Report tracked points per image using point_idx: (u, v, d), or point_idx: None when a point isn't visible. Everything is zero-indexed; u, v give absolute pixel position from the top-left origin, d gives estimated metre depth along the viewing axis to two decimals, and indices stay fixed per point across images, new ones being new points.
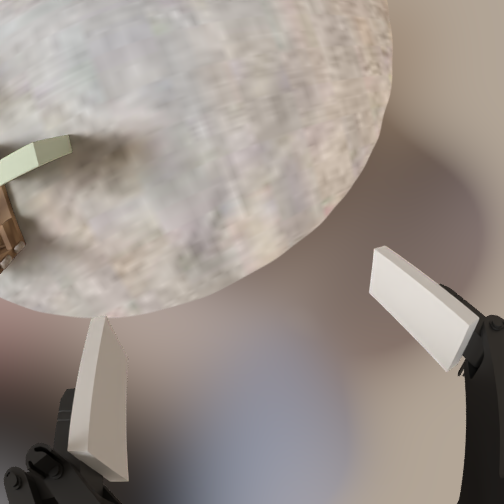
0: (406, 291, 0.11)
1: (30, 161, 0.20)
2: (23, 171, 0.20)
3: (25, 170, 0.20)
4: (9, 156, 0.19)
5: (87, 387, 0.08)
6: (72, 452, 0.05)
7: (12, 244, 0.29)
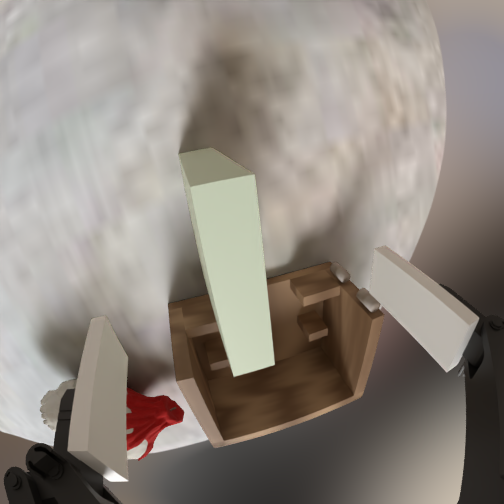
0: (406, 291, 0.11)
1: (237, 197, 0.11)
2: (256, 222, 0.12)
3: (255, 216, 0.12)
4: (209, 261, 0.12)
5: (87, 387, 0.08)
6: (72, 452, 0.05)
7: (333, 284, 0.25)
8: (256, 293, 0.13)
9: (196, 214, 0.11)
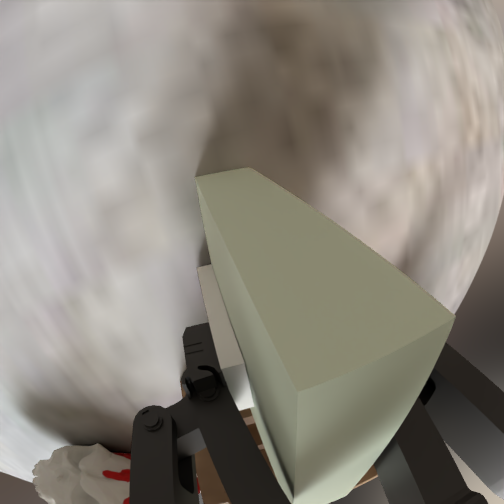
0: None
1: (404, 375, 0.03)
2: (412, 398, 0.04)
3: (416, 390, 0.04)
4: (304, 470, 0.04)
5: (221, 315, 0.10)
6: (225, 370, 0.08)
7: None
8: (361, 466, 0.06)
9: (298, 431, 0.03)
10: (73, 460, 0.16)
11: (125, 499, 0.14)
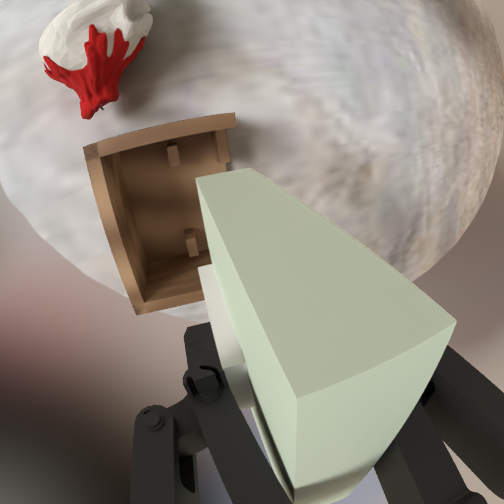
0: None
1: (404, 380, 0.03)
2: (412, 402, 0.04)
3: (417, 394, 0.04)
4: (303, 473, 0.04)
5: (222, 315, 0.10)
6: (226, 369, 0.08)
7: None
8: (361, 468, 0.06)
9: (298, 436, 0.03)
10: None
11: (129, 44, 0.18)
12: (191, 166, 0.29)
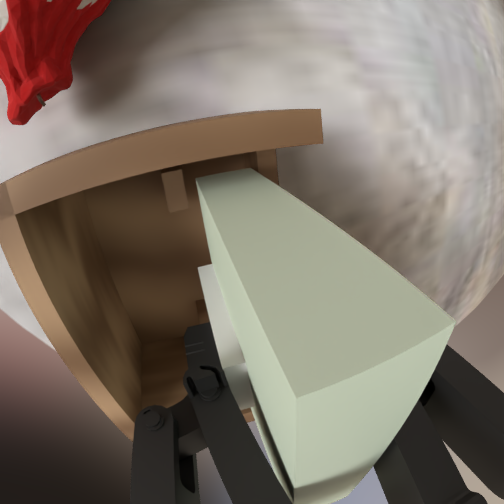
0: None
1: (403, 380, 0.03)
2: (412, 402, 0.04)
3: (416, 394, 0.04)
4: (303, 473, 0.04)
5: (222, 315, 0.10)
6: (226, 369, 0.08)
7: None
8: (361, 468, 0.06)
9: (297, 435, 0.03)
10: None
11: None
12: None
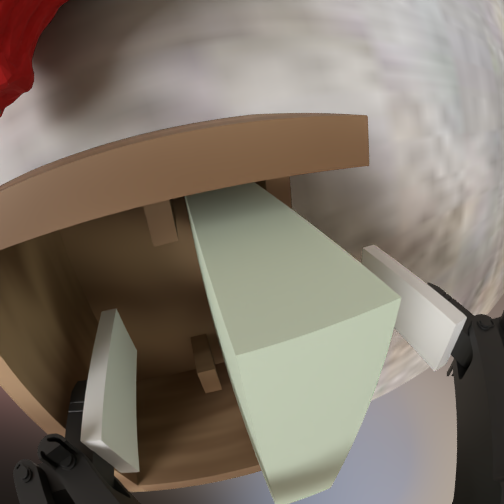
0: (394, 290, 0.12)
1: (352, 353, 0.04)
2: (371, 381, 0.05)
3: (374, 373, 0.05)
4: (269, 449, 0.05)
5: (99, 377, 0.08)
6: (85, 442, 0.06)
7: None
8: (335, 453, 0.06)
9: (249, 401, 0.04)
10: None
11: None
12: None
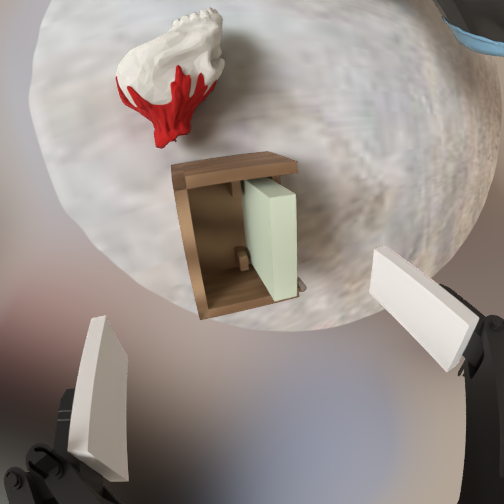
0: (407, 291, 0.11)
1: (287, 203, 0.25)
2: (294, 215, 0.26)
3: (294, 212, 0.26)
4: (273, 232, 0.26)
5: (87, 387, 0.08)
6: (72, 452, 0.05)
7: None
8: (291, 250, 0.28)
9: (270, 210, 0.25)
10: None
11: (207, 88, 0.24)
12: None
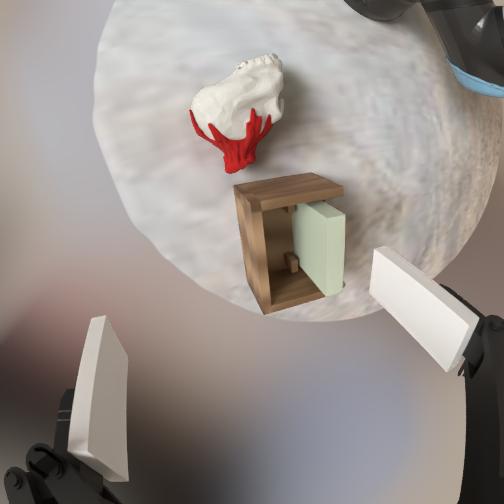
0: (407, 291, 0.11)
1: (339, 222, 0.32)
2: (343, 230, 0.33)
3: (343, 228, 0.33)
4: (328, 243, 0.33)
5: (87, 387, 0.08)
6: (72, 452, 0.05)
7: None
8: (340, 256, 0.35)
9: (327, 227, 0.32)
10: None
11: (272, 125, 0.31)
12: None
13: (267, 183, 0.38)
